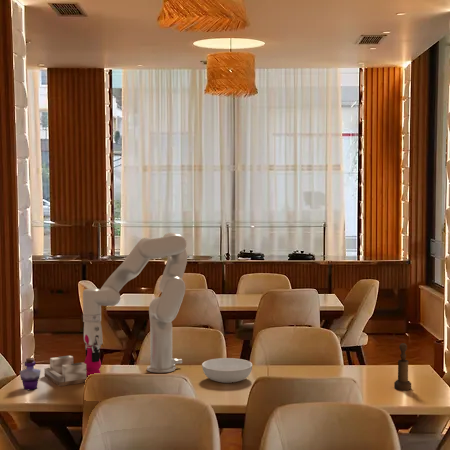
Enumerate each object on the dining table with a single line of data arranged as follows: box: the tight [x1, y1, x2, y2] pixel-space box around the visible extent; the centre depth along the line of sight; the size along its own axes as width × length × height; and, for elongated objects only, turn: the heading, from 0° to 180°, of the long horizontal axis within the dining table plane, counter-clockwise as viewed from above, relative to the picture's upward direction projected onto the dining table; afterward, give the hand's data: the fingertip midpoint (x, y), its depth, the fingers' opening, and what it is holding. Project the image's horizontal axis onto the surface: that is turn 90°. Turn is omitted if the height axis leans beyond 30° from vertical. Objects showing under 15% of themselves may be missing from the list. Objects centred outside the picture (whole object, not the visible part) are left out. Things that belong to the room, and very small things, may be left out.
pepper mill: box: [83, 335, 102, 377], centre depth 325 cm, size 7×7×20 cm
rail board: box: [44, 355, 87, 387], centre depth 319 cm, size 12×18×8 cm, turn 32°
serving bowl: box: [201, 357, 253, 384], centre depth 318 cm, size 21×21×7 cm
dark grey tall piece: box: [393, 342, 412, 391], centre depth 304 cm, size 7×6×18 cm
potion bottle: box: [19, 357, 41, 391], centre depth 305 cm, size 9×9×12 cm
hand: (92, 359), depth 325 cm, fingers open, 5 cm apart
